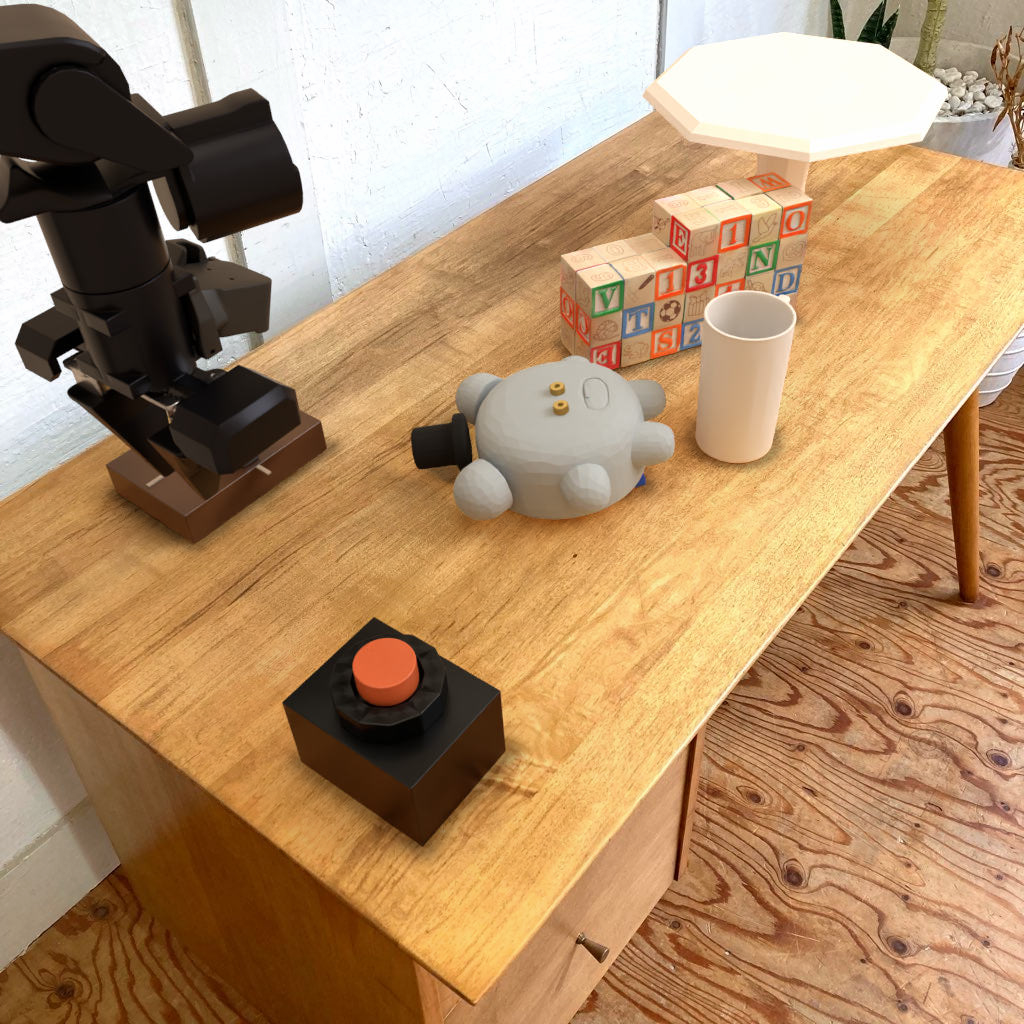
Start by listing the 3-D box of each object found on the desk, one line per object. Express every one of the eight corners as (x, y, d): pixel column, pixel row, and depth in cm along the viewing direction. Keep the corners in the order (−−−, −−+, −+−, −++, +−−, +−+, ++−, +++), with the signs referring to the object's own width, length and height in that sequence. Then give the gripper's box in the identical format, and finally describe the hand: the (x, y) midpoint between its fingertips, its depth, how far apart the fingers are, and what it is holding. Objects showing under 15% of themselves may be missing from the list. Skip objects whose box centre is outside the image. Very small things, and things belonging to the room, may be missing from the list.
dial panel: (208, 553, 79) (197, 523, 77) (104, 484, 85) (92, 455, 83) (340, 456, 87) (334, 426, 85) (236, 399, 93) (228, 370, 91)
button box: (300, 762, 65) (275, 683, 60) (386, 677, 70) (369, 597, 64) (422, 847, 61) (407, 770, 55) (506, 751, 65) (499, 671, 60)
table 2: (637, 181, 120) (643, 29, 109) (889, 181, 117) (923, 25, 106) (634, 316, 100) (641, 147, 89) (938, 320, 97) (986, 147, 86)
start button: (343, 687, 60) (338, 668, 59) (385, 647, 62) (381, 627, 61) (390, 717, 58) (386, 698, 57) (432, 675, 60) (429, 655, 59)
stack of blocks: (588, 379, 93) (590, 255, 85) (559, 343, 97) (557, 221, 89) (795, 319, 98) (815, 197, 90) (758, 287, 103) (774, 168, 94)
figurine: (659, 395, 90) (430, 426, 92) (653, 311, 84) (409, 345, 86) (688, 537, 77) (422, 570, 79) (683, 450, 72) (397, 487, 73)
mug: (746, 477, 83) (765, 351, 74) (675, 444, 86) (686, 319, 78) (811, 415, 88) (835, 290, 80) (741, 386, 91) (758, 263, 83)
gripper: (346, 249, 56) (383, 469, 67) (127, 167, 65) (191, 373, 76) (185, 349, 50) (255, 574, 61) (-34, 244, 59) (61, 457, 69)
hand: (190, 484), depth 67 cm, fingers open, 4 cm apart
